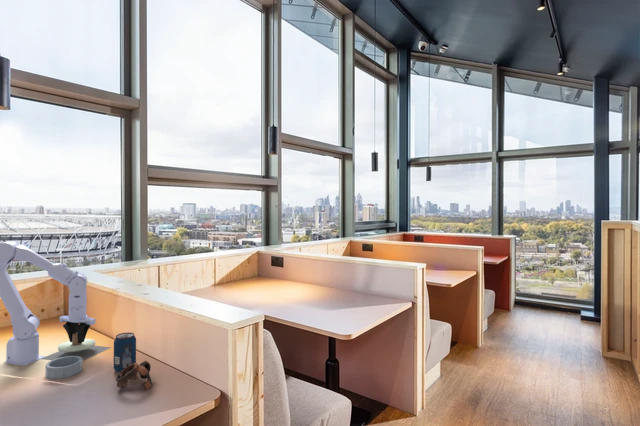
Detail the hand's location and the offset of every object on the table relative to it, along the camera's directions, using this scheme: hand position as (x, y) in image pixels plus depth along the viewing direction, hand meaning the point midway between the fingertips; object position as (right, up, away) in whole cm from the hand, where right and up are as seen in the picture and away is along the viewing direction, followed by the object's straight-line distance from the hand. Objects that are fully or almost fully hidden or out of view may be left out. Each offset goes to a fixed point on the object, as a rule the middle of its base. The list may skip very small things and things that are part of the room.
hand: (77, 341), depth 144 cm
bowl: (+6, -5, -17) cm, 19 cm away
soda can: (+25, -6, -13) cm, 28 cm away
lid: (0, -2, 0) cm, 2 cm away
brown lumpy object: (+35, -6, -25) cm, 43 cm away
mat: (0, -5, 0) cm, 5 cm away
